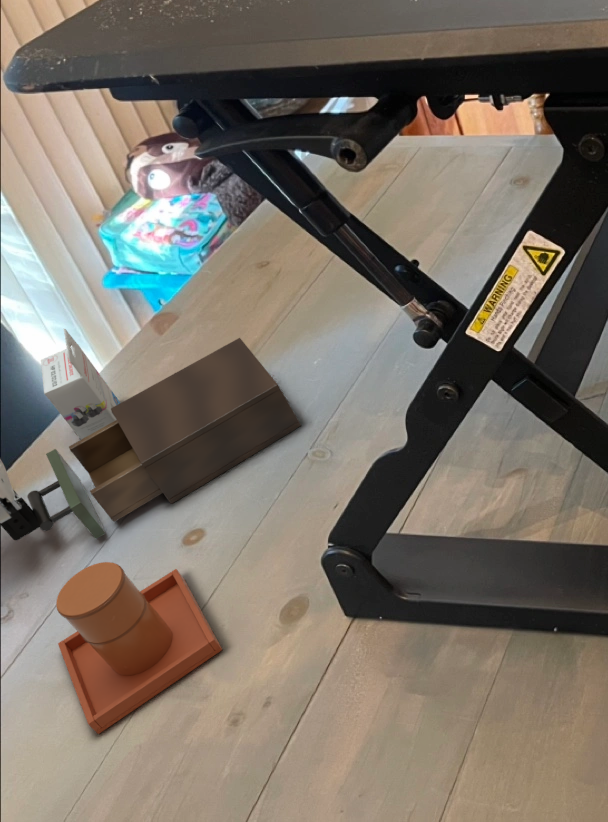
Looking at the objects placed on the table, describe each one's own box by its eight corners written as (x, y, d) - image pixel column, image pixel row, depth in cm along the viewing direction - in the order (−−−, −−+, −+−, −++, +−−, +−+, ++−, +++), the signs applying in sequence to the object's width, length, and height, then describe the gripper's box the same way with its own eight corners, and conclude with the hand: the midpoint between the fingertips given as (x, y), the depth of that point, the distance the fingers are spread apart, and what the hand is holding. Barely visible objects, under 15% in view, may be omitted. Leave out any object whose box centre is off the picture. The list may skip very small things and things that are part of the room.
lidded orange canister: (120, 688, 111) (63, 628, 104) (103, 649, 115) (48, 589, 108) (181, 648, 114) (130, 586, 107) (163, 611, 118) (112, 550, 111)
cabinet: (171, 504, 132) (141, 463, 127) (139, 448, 141) (110, 408, 136) (301, 425, 139) (277, 384, 135) (263, 377, 149) (239, 337, 144)
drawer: (61, 560, 126) (34, 529, 123) (37, 503, 135) (11, 472, 131) (226, 461, 135) (205, 429, 131) (194, 413, 144) (173, 382, 140)
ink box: (85, 420, 148) (25, 342, 139) (122, 403, 149) (65, 325, 140) (90, 455, 141) (29, 376, 132) (129, 437, 143) (70, 358, 134)
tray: (98, 734, 107) (88, 724, 106) (67, 653, 116) (57, 643, 115) (222, 649, 113) (214, 639, 112) (184, 579, 122) (176, 568, 121)
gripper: (-111, 411, 121) (-16, 515, 132) (-95, 479, 111) (7, 584, 122) (-41, 376, 124) (46, 480, 135) (-19, 439, 114) (73, 545, 125)
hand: (27, 529), depth 128 cm, fingers closed
